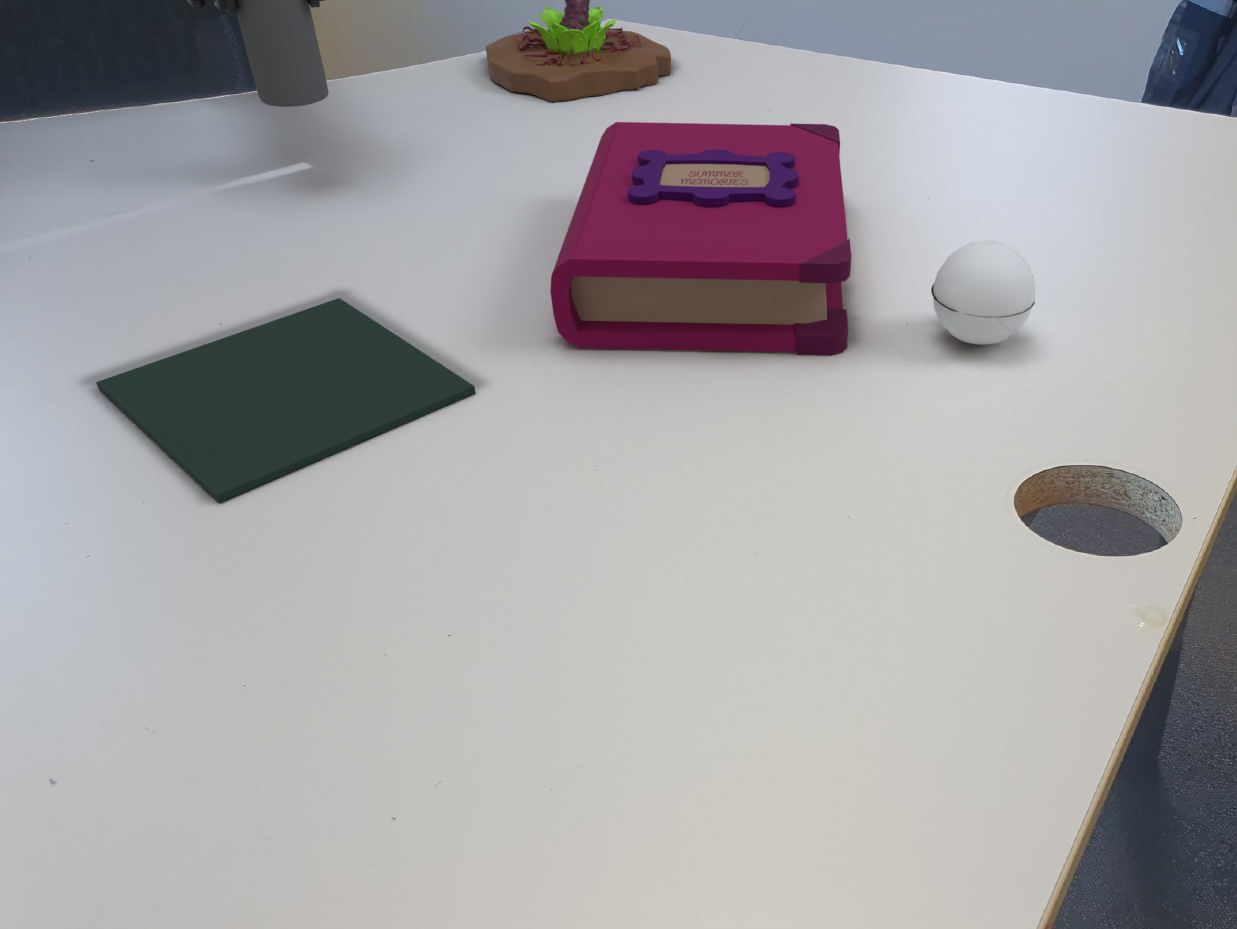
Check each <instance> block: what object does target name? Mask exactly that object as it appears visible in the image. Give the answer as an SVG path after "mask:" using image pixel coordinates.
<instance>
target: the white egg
mask: <svg viewBox="0 0 1237 929" xmlns="http://www.w3.org/2000/svg"><path fill="white" fill-rule="evenodd" d="M930 291H931V295H932V297H933V309H934V312H935V314H936V317H937V318H938V321H939V322H940V324H941V325H942V327H943V328H944V329H945V330H946V331H947V332H948V333H949V334H950V335H951V336H953V337H955V338H956V339H957V340H959V341H962V342H963V343H968V344H972V345H983V346H985V345H995V344H997V343H1000V342H1003V341H1004V340H1006V339H1007V338H1009V337H1011V336H1012V335H1014V334H1016V333H1017V332H1018V331H1019V330H1020V329H1021V328H1022V326H1023V325H1024V324H1025V323H1026V321H1027V320H1028V318H1029V316H1030V315H1031V312H1032V309H1033V306H1034V305H1035V303H1036V282H1035V277H1034V274H1033V271H1032V269H1031V266H1030V263H1028V262H1027V260H1026V259H1025V258H1024V257H1023V256H1022V254H1020V253H1019V251H1018V250H1017V249H1015V248H1014V247H1012V246H1010V245H1008V244H1005V243H1002V242H1000V241H995V240H979V241H973V242H968V243H966V244H963V245H962V246H961V247H959V248H958V249H957V250H954V251H953V252H952V253H950V254H949V255H948V256H947V258H946V259H945V260H944V262H943V264H942V265H941V266H940V268H939V270H938V271H937V272H936V276H935V279H934V281H933V284H932V286H931V288H930Z"/></svg>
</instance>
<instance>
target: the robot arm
mask: <svg viewBox="0 0 1237 929" xmlns="http://www.w3.org/2000/svg"><path fill="white" fill-rule="evenodd" d="M185 1H186V2H187V3H188V4H189V5H190V6H191V7H194V8H195V7H196V8H204V7H205V6H207V5H208V3H207V0H185ZM212 1H213V4H214V6H215V7H216V8H217V9H218V10H220V11H223V10H226V11H227V14H228V16H233V15H235V16H236V15H237V14H238V12H237V8H236V4H235V1H234V0H212ZM325 1H326V0H308V2H309V5H310V9H311V8H312V9H313V8H321V2H325Z"/></svg>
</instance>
